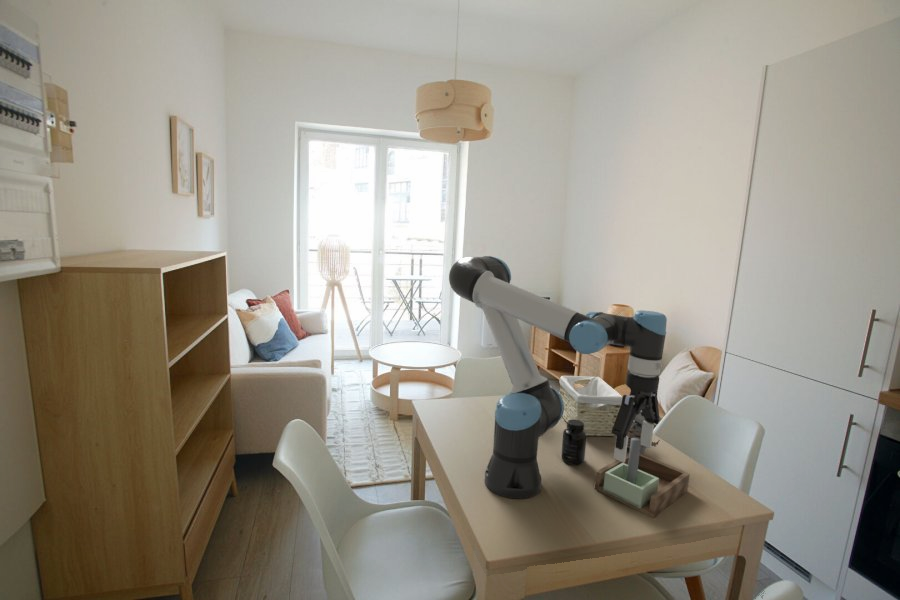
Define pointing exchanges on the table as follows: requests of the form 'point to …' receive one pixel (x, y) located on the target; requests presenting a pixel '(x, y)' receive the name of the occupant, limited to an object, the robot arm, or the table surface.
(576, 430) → the supplement bottle
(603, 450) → the table surface
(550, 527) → the table surface
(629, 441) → the figurine
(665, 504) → the bay
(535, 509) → the table surface
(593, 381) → the storage basket
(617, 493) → the green box with handle
